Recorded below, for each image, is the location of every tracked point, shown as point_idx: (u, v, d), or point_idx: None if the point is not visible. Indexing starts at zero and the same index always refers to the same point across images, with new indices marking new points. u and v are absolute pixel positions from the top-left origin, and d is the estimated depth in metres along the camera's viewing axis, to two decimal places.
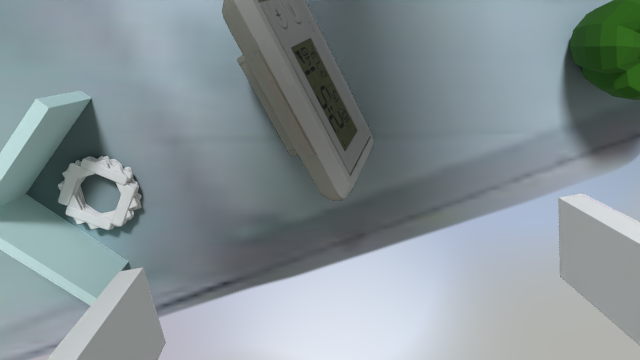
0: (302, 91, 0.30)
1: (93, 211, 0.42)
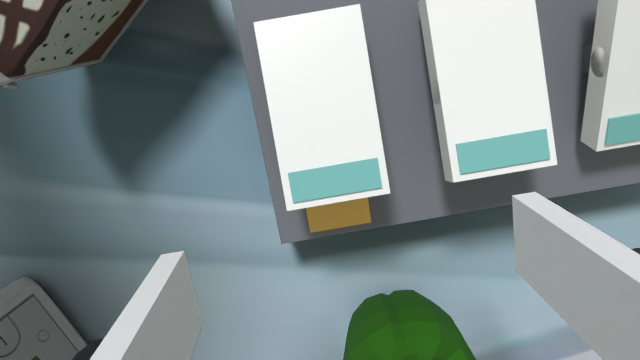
0: None
1: None
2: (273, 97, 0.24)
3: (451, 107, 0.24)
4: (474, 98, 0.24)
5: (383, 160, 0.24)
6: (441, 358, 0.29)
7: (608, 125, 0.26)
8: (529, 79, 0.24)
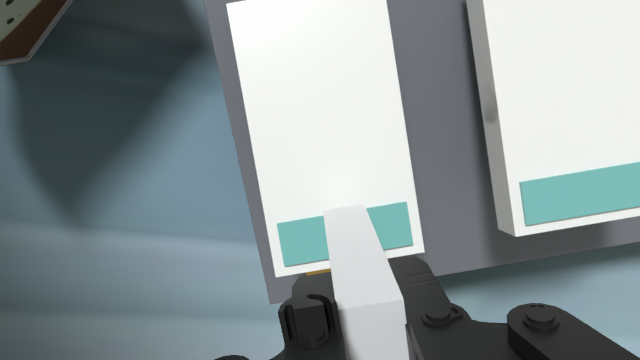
0: None
1: None
2: (256, 114, 0.17)
3: (514, 129, 0.17)
4: (547, 116, 0.17)
5: (415, 205, 0.17)
6: None
7: None
8: (627, 88, 0.17)
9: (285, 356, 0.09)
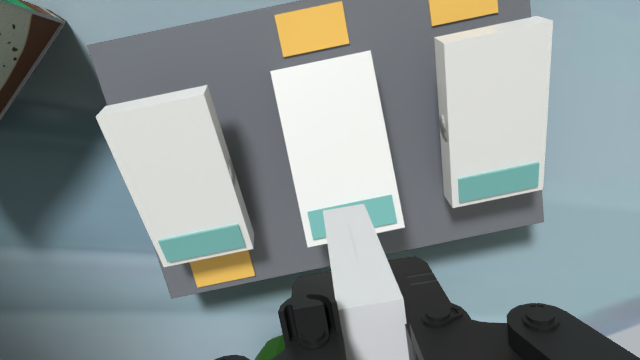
0: None
1: None
2: (132, 181, 0.25)
3: (301, 177, 0.26)
4: (322, 168, 0.26)
5: (244, 225, 0.27)
6: None
7: (458, 184, 0.27)
8: (374, 148, 0.26)
9: (285, 356, 0.09)
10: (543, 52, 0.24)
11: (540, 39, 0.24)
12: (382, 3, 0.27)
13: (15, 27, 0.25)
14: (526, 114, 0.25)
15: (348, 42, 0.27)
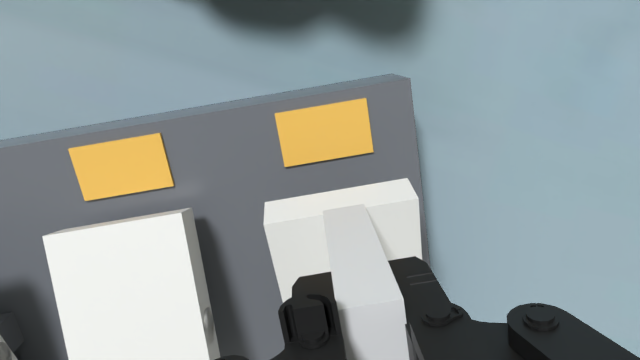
0: None
1: None
2: None
3: None
4: None
5: None
6: None
7: None
8: (185, 344, 0.19)
9: (285, 356, 0.09)
10: (409, 235, 0.17)
11: (403, 220, 0.17)
12: (216, 136, 0.20)
13: None
14: None
15: (171, 185, 0.20)
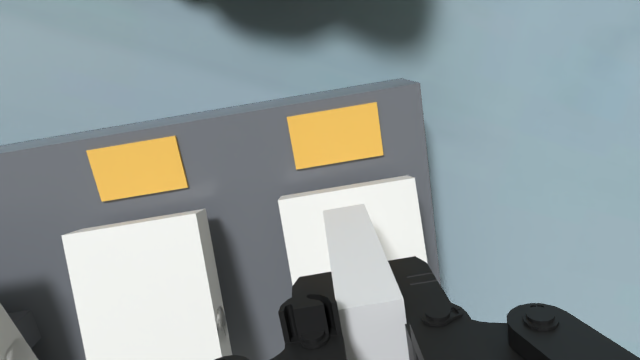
0: None
1: None
2: None
3: None
4: None
5: None
6: None
7: None
8: (198, 342, 0.19)
9: (285, 356, 0.09)
10: (410, 216, 0.19)
11: (402, 200, 0.19)
12: (229, 139, 0.20)
13: None
14: None
15: (185, 186, 0.21)
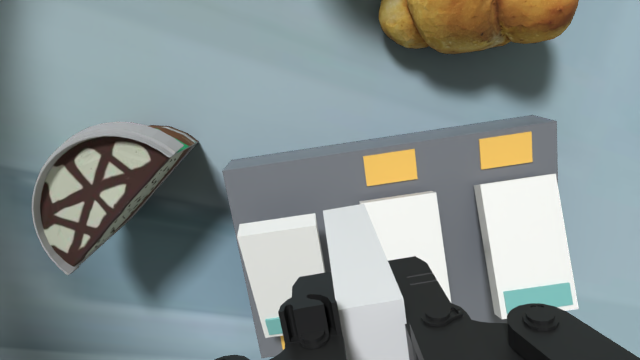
0: None
1: None
2: (253, 279, 0.34)
3: None
4: None
5: None
6: None
7: (504, 296, 0.34)
8: (434, 264, 0.34)
9: (285, 356, 0.09)
10: (553, 194, 0.34)
11: (549, 185, 0.34)
12: (444, 151, 0.36)
13: (175, 159, 0.35)
14: (550, 240, 0.34)
15: (416, 178, 0.36)
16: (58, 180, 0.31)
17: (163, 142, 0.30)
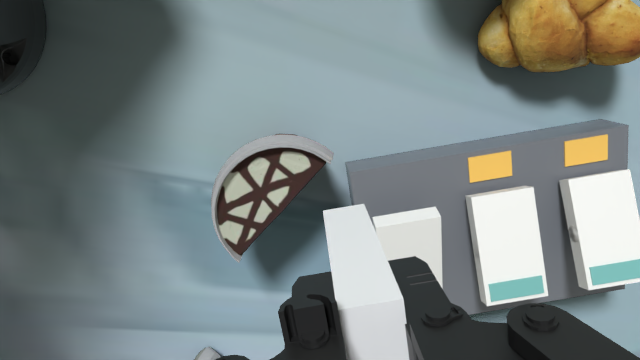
0: None
1: None
2: None
3: (486, 262, 0.41)
4: (499, 257, 0.41)
5: None
6: None
7: (590, 271, 0.41)
8: (532, 246, 0.41)
9: (285, 356, 0.09)
10: (628, 186, 0.41)
11: (624, 179, 0.41)
12: (535, 152, 0.43)
13: None
14: (626, 224, 0.41)
15: (511, 175, 0.43)
16: (233, 184, 0.37)
17: (322, 151, 0.36)
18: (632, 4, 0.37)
